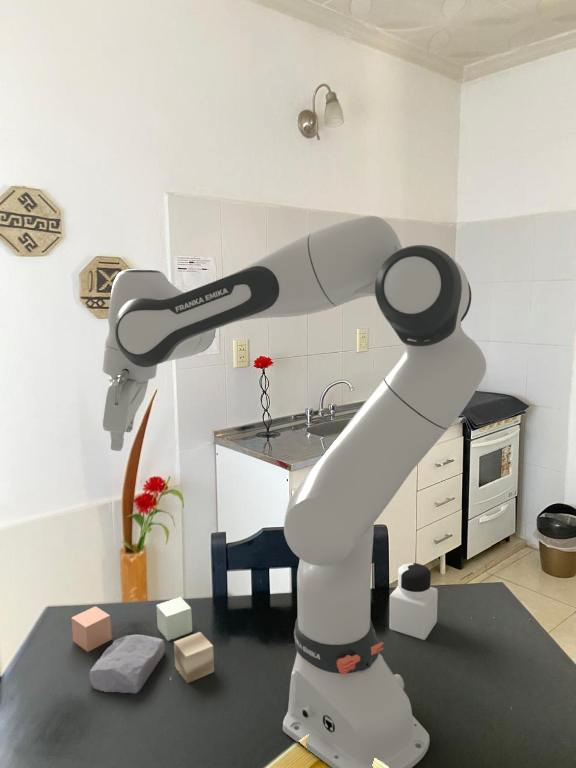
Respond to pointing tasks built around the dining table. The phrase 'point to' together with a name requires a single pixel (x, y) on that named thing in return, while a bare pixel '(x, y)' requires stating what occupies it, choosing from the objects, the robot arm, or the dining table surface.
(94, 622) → the terracotta cube
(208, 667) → the birch cube
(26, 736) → the dining table surface
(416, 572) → the medicine bottle
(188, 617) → the sage cube
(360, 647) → the robot arm
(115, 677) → the stone block
